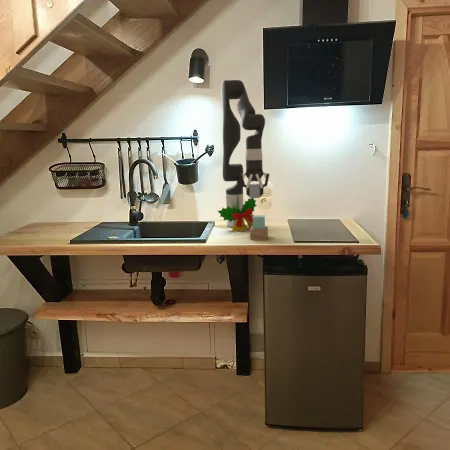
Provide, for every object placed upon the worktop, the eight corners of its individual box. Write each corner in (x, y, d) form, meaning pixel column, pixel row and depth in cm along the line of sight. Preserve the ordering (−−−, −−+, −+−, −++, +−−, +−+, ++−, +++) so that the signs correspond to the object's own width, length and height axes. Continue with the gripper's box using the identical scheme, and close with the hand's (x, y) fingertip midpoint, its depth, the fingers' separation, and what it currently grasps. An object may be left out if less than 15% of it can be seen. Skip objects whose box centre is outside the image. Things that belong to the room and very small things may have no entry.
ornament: (228, 240, 228) (219, 216, 221) (225, 232, 235) (216, 209, 228) (266, 226, 229) (258, 201, 221) (261, 219, 236) (254, 194, 229)
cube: (253, 226, 212) (253, 215, 211) (264, 226, 211) (264, 215, 210) (252, 229, 206) (252, 217, 205) (264, 228, 206) (264, 217, 205)
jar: (249, 196, 209) (249, 184, 208) (260, 196, 208) (260, 183, 207) (248, 198, 204) (248, 185, 203) (260, 197, 203) (259, 184, 202)
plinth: (251, 236, 214) (250, 226, 213) (267, 236, 213) (267, 226, 212) (250, 240, 206) (250, 229, 205) (267, 240, 205) (267, 229, 204)
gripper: (270, 158, 206) (270, 194, 209) (239, 159, 208) (240, 195, 211) (269, 158, 198) (270, 196, 201) (237, 159, 200) (238, 197, 203)
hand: (254, 195), depth 206 cm, fingers closed on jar, 5 cm apart
